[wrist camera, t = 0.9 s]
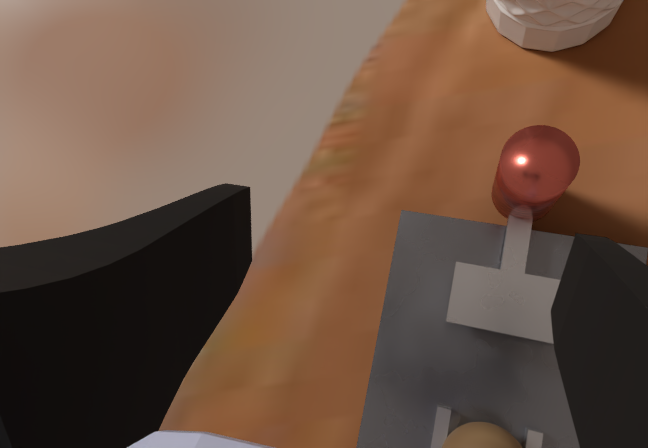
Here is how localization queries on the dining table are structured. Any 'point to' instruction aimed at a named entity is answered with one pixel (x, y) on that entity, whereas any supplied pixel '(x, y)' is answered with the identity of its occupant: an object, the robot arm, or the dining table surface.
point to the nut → (480, 437)
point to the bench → (461, 345)
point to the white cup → (551, 21)
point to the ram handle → (517, 239)
